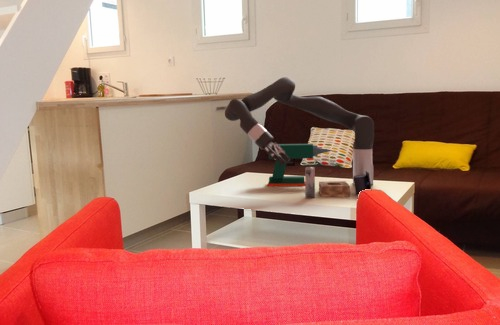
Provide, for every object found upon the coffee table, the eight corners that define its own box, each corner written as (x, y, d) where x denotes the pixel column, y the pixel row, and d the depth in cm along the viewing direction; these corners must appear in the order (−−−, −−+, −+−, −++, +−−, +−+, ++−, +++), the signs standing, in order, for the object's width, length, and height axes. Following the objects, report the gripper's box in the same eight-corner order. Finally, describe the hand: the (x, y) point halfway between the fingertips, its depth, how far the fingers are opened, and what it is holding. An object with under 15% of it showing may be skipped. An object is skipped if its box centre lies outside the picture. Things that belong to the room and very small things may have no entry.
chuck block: (345, 190, 211) (345, 181, 210) (349, 196, 199) (349, 186, 198) (318, 191, 212) (318, 181, 211) (321, 196, 200) (321, 186, 199)
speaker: (374, 193, 203) (371, 170, 202) (372, 196, 198) (369, 172, 197) (356, 193, 206) (354, 171, 205) (354, 197, 201) (351, 173, 200)
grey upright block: (307, 195, 203) (306, 166, 201) (316, 195, 202) (316, 166, 200) (303, 198, 196) (303, 168, 195) (313, 199, 195) (313, 168, 193)
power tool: (332, 183, 232) (332, 143, 229) (333, 185, 225) (333, 144, 222) (268, 183, 235) (268, 144, 232) (267, 186, 228) (267, 145, 225)
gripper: (259, 140, 210) (284, 166, 208) (249, 144, 196) (276, 171, 194) (270, 128, 207) (296, 154, 205) (261, 131, 194) (288, 159, 192)
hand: (286, 162), depth 200 cm, fingers open, 8 cm apart
